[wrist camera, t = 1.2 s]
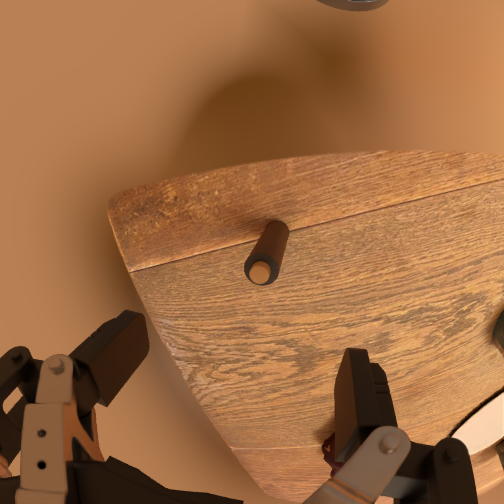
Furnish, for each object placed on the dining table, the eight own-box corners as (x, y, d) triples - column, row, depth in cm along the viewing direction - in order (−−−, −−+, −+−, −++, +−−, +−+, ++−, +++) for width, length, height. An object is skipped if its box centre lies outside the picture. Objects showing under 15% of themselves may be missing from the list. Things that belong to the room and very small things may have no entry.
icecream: (321, 443, 26) (309, 477, 32) (378, 452, 23) (352, 485, 29) (335, 402, 32) (322, 446, 38) (386, 410, 29) (362, 453, 35)
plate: (419, 451, 33) (420, 456, 32) (518, 362, 24) (521, 366, 23) (472, 457, 33) (473, 460, 32) (546, 387, 24) (548, 390, 22)
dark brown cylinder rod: (266, 219, 25) (241, 255, 16) (290, 221, 25) (279, 260, 16) (264, 241, 26) (240, 288, 17) (287, 244, 26) (275, 293, 17)
